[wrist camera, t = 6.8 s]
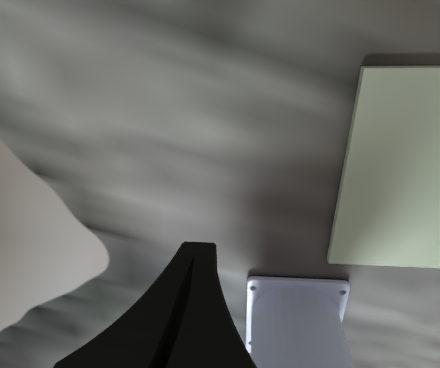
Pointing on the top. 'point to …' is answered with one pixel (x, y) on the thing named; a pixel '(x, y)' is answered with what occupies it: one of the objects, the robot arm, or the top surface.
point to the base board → (391, 171)
